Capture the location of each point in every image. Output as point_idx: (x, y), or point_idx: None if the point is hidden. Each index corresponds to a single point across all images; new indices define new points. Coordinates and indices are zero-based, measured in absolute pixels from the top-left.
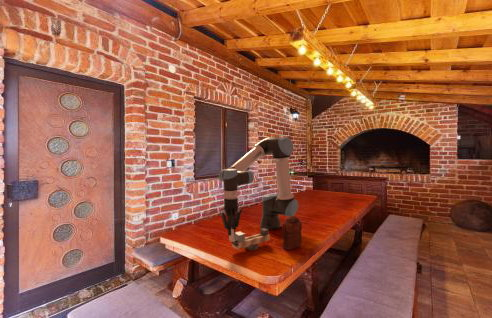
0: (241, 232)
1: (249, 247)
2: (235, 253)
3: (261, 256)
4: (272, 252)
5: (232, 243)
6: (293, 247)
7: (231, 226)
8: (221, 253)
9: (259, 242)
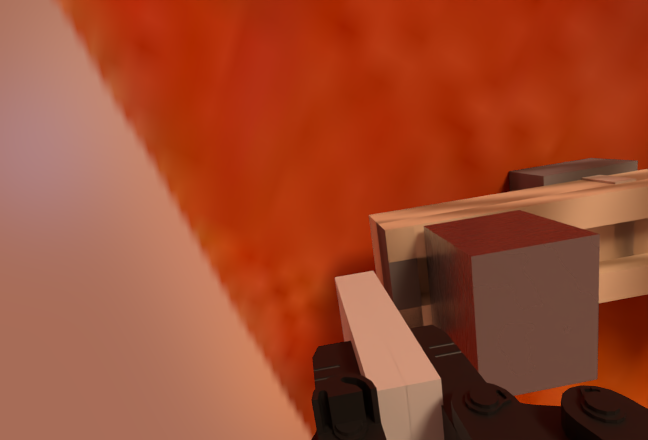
0: (585, 300)
1: None
2: (371, 251)
3: None
4: (640, 359)
5: (379, 236)
6: None
7: (460, 427)
8: (250, 193)
9: None
